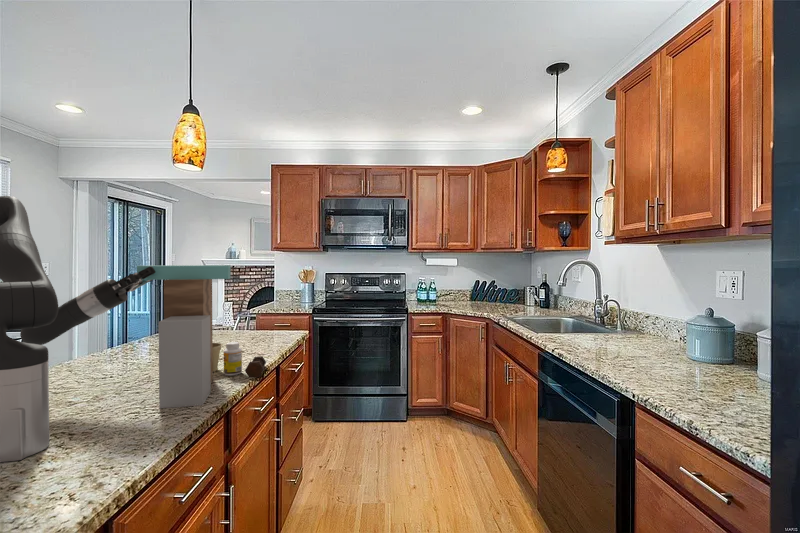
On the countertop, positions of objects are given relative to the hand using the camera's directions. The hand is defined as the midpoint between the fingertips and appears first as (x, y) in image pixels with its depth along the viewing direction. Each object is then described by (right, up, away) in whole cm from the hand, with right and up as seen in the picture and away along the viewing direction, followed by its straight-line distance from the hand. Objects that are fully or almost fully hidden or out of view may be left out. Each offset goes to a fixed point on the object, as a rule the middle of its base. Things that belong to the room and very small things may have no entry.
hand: (158, 268), depth 117 cm
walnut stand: (+8, -35, +2) cm, 36 cm away
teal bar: (+7, -3, +2) cm, 8 cm away
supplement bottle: (+15, -35, +17) cm, 41 cm away
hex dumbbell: (+22, -35, +20) cm, 46 cm away
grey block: (+13, -35, -9) cm, 38 cm away
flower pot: (+5, -35, +20) cm, 41 cm away
